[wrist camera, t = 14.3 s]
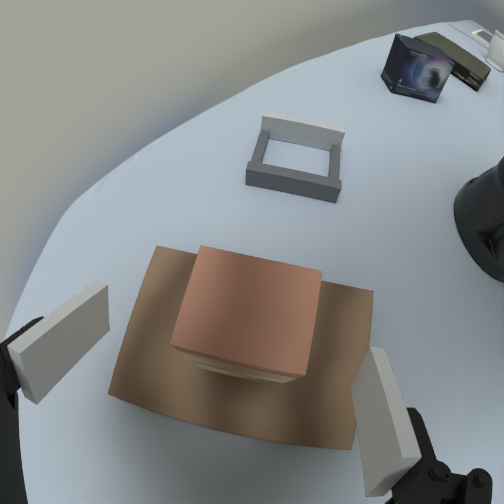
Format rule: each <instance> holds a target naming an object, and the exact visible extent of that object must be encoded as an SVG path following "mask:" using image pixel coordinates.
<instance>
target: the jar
mask: <svg viewBox="0 0 504 504" xmlns="http://www.w3.org/2000/svg"><path fill="white" fill-rule="evenodd" d="M495 32H496V34H495V35H494V36H493V37H492V39H491V41H490V44H489V49H488V57H487V58H486V61H487V62H488V63H489V64H490V65H491V66H493V67H494V68H496V69H497V70H499V71H501V72H503V68H504V34H503V33H501V32H499V31H498V30H495Z"/></svg>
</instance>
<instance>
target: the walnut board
mask: <svg viewBox="0 0 504 504" xmlns="http://www.w3.org/2000/svg"><path fill="white" fill-rule="evenodd" d="M197 255H198V254H193V253H189V252H184V251H180V250H175V249H171V248H166V247H162V246H156V248H155V251H154V253H153V256H152V259H151V261H150V264H149V266H148V269H147V272H146V275H145V277H144V280H143V283H142V286H141V288H140V291H139V294H138V297H137V300H136V303H135V305H134V308H133V311H132V314H131V317H130V320H129V323H128V326H127V330H126V333H125V336H124V339H123V342H122V345H121V349H120V352H119V355H118V359H117V362H116V366H115V369H114V373H113V376H112V380H111V383H110V387H109V391H108V394H109V395H111V396H114V397H116V398H119V399H121V400H124V401H126V402H129V403H132V404H134V405H137V406H140V407H143V408H145V409H148V410H151V411H154V412H157V413H160V414H163V415H166V416H169V417H172V418H176V419H179V420H182V421H186V422H189V423H193V424H196V425H200V426H203V427H207V428H211V429H215V430H219V431H223V432H228V433H232V434H237V435H241V436H246V437H251V438H256V439H262V440H268V441H273V442H280V443H286V444H293V445H301V446H310V447H319V448H330V449H343V450H351V448H352V444H353V439H354V434H355V430H356V425H357V424H356V418H355V412H354V405H353V400H352V394H351V386H352V384H353V382H354V380H355V378H356V376H357V374H358V372H359V370H360V367H361V365H362V363H363V361H364V359H365V356H366V354H367V352H368V348H369V339H370V329H371V318H372V306H373V291H370V290H365V289H360V288H355V287H350V286H345V285H340V284H335V283H330V282H325V281H321V285H320V292H319V299H318V306H317V312H316V319H315V325H314V331H313V337H312V343H311V349H310V354H309V360H308V365H307V370H306V375H305V376H302V377H300V378H297V379H294V380H292V381H289V382H286V383H284V384H281V385H278V386H276V385H271V384H266V383H261V382H256V381H251V380H247V379H242V378H238V377H233V376H229V375H225V374H221V373H217V372H213V371H209V370H205V369H201V368H200V367H199V366H197V365H196V364H195V363H193V362H192V361H191V360H189V359H188V358H187V357H186V356H184V355H183V354H182V353H180V352H179V351H178V350H177V349H175V348H174V347H173V346H172V345H170V342H171V338H172V335H173V332H174V328H175V325H176V321H177V318H178V315H179V312H180V308H181V305H182V302H183V299H184V295H185V292H186V289H187V286H188V283H189V280H190V276H191V273H192V270H193V267H194V264H195V261H196V258H197Z"/></svg>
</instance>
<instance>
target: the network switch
mask: <svg viewBox="0 0 504 504" xmlns="http://www.w3.org/2000/svg"><path fill="white" fill-rule="evenodd" d="M413 39H416V40H419V41H422V42H425V43H428V44H431V45H434V46H436V47H439V48H441V49H442V50H443V51H444V52H445V53H446V55H447V56H448V57H449V58H450V59H451V60H452V61H453V62H454V63H455V64H454V66H453V68H452V70H451V72H452V73H453V74H454V75H456V76H458V77H459V78H460V79H462V80H464V81H465V82H466V83H467V84H469V85H470V86H472V87H473V88H474V90H475V91H478V89H479V88H480V86H481V85H482V83H483V82H484V80H485V79H486V78H487V76H488V75H489V73H490V71H491V69H490V68H489V67H488V66H487V65H486V64H485V63H483V62H482V61H481V60H479V59H478V58H476V57H475V56H473V55H472V54H471V53H469V52H468V51H466V50H465V49H463V48H461V47H460V46H458V45H457V44H455V43H454V42H452V41H450V40H449V39H447V38H445V37H444V36H442V35H440V34H438V33H436V32H432V33H427V34H423V35H419V36H416V37H414V38H413Z"/></svg>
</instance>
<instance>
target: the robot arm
mask: <svg viewBox="0 0 504 504" xmlns="http://www.w3.org/2000/svg"><path fill="white" fill-rule="evenodd" d="M454 214H455V220H456V224H457V227H458V230H459V233H460V235H461V237H462V240H463V242H464V244H465V245H466V247H467V249H468V251H469V252H470V254H471V255H472V257H473V258H474V259H475V261H476V262H477V263H478V264H479V265H480V266H481V267H482V268H483V269H484V270H485V271H486V272H487V273H488V274H489V275H491V276H492V277H494V278H496V279H498V280H500V281H503V282H504V157H503V158H502V159H501V161H500V162H499V163H498V164H497V165H496V166H495V167H493V168H491V169H489V170H488V171H486V172H484V173H483V174H481V175H480V176H479V177H476V178H473V179H471V180H470V181H468V182H467V183H466V184H465V185H464V187H463V188H462V189H461V190H460V192H459V193H458V194H457V196H456V199H455V203H454ZM109 330H110V327H109V309H108V285H106V284H103V283H100V282H97V281H96V282H94V283H93V284H91V285H90V286H88V287H87V288H85V289H84V290H83V291H81V292H80V293H78V294H77V295H75V296H74V297H72V298H71V299H70V300H68V301H67V302H65V303H64V304H63V305H61V306H60V307H58V308H57V309H56V310H54V311H53V312H51V313H50V314H49V315H47V316H46V317H43V316H42V317H39V318H36V319H33V320H32V321H30V322H29V323H28V324H26V325H25V326H23V327H22V328H21V329H20V330H19V331H17V332H15V333H14V334H13V335H11V336H10V337H9V338H7V339H6V340H5V341H3V342H2V343H1V344H0V504H28V501H27V496H26V490H25V484H24V477H23V470H22V461H21V451H20V438H19V415H18V393H17V390H18V389H19V388H20V387H21V389H22V391H23V394H24V396H25V397H26V398H27V399H29V400H30V401H32V402H33V403H35V404H36V405H37V404H38V403H39V402H40V401H41V400H42V399H43V398H44V397H45V396H46V395H47V394H48V392H49V391H50V390H51V389H52V388H53V387H54V386H55V385H56V384H57V383H58V382H59V381H60V380H61V379H62V378H63V377H64V376H65V375H66V374H67V373H68V372H69V370H70V369H71V368H72V367H73V366H74V365H75V364H76V363H77V362H78V361H79V360H80V359H81V358H82V357H83V356H84V355H85V354H86V353H87V352H88V351H89V350H90V349H91V348H92V347H93V346H94V345H95V344H96V343H97V342H98V341H99V340H100V339H101V338H102V337H103V336H104V335H105V334H106V333H107V332H108V331H109ZM351 394H352V400H353V405H354V412H355V418H356V424H357V431H358V437H359V444H360V452H361V459H362V467H363V476H364V484H365V494H366V497H374V496H384V495H385V494H386V493H387V492H388V491H390V490H392V496H393V497H391V498H390V499H389V500H388V501H387V502H386V503H385V504H491V499H492V484H493V483H492V478H491V476H490V474H489V473H488V472H487V471H486V470H484V469H481V468H476V469H473V470H472V471H471V472H470V473H469V474H468V475H467V476H466V475H460V474H455V473H451V470H450V469H449V467H448V466H447V465H446V464H444V463H443V462H441V461H438V460H437V459H436V456H435V453H434V450H433V447H432V444H431V441H430V438H429V435H428V434H427V433H428V432H427V430H426V427H425V424H424V421H423V419H422V416H421V415H420V414H419V412H418V411H417V410H416V409H415V408H407V407H406V406H405V403H404V400H403V397H402V394H401V392H400V389H399V386H398V383H397V381H396V378H395V375H394V372H393V370H392V367H391V365H390V362H389V359H388V357H387V354H386V352H385V349H384V348H380V347H373V346H370V347H369V350H368V352H367V354H366V356H365V359H364V361H363V363H362V365H361V367H360V370H359V372H358V374H357V376H356V378H355V380H354V382H353V384H352V386H351Z"/></svg>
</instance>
